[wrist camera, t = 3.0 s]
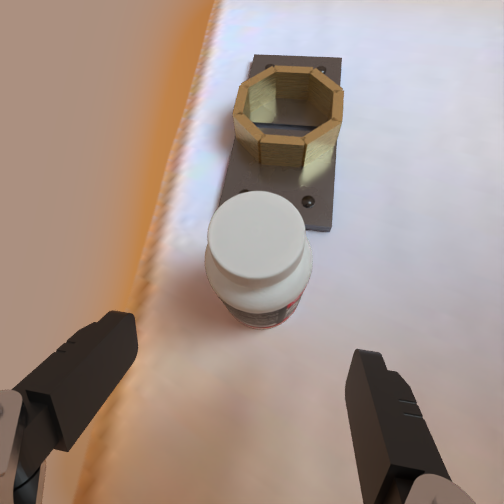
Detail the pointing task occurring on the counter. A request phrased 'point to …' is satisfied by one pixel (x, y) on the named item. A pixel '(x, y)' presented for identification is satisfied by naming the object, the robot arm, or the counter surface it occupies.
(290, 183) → the octagonal bottle holder
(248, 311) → the pill bottle
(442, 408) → the counter surface
